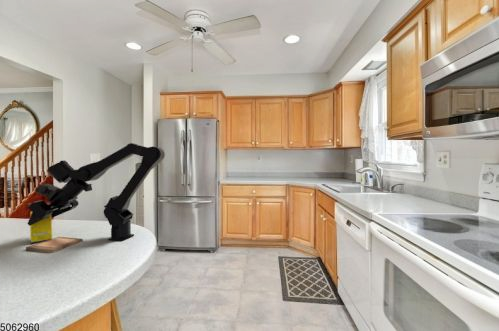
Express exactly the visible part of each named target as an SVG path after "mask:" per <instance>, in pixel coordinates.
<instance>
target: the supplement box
mask: <svg viewBox="0 0 499 331" xmlns="http://www.w3.org/2000/svg"><path fill="white" fill-rule="evenodd" d="M31 215H32V211H30V212H29V218H30V217H31ZM52 220H53V218H52V215H50V216H48V218H46V219H43V220H41V221H39V222H37V223H35V224H33V225H30V226H29V227H30V245H35V244H38V243H41V242H44V241H47V240H50V239H53V228H52V227H53V226H52V224H53V221H52Z"/></svg>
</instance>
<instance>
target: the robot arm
mask: <svg viewBox="0 0 499 331" xmlns="http://www.w3.org/2000/svg"><path fill="white" fill-rule="evenodd" d="M134 155H136V156H139V157H142V158H141V162H140V165H139V166H138V168H137V169H136V170H135V172H134V174H133V175H132V177H131V178H130V179H129V181H128V182H127V184H126V185H125V186H124V188H123V189H122V191H121V192H120V194H119V195H115V196H113V197H110V198H109V200H108V202H107V203H106V205H104V206H103V208H104V209H103V215H104V217H105V218H106V219H107V221H108V224H109V225H110V226H111V228H110V232H111V233H110V237H108V238H107V239H108V240H110V241H111V240H112V241H121V242H123V241H125V240H127V239H130V238H132V237H134V236H135V234H134V233H132V232H131V225H132V224H131V220H132V219H133V216H134V214H133V212H132V211H130V210H129V207H130V203H131V201H132V198H133V197H134V195H135V194H136V192H137V191H138V189H140V187H141V185H142V184H143V182H144V181H145V179H146V178H147V177H148V175H149V174H150V172H151V171H152V170H153V169H154V168H155V167H157V166H158V165H159V164H160V163H161V162H162V161H163V160H164V159H165V156H166V155H165V150H164V149H163V148H161V147H158V146H149V147H147V146H143V145H140V144H139V145H138V144H137V143H132V142H131V143H128V144H127V145H126V146H123V147H122V148H120V149H118V150H117V151H115V152H113V153H111V154H109V155H107V156H106V157H104V158H103V159H100V160H98V161H94V162H91V163H89V164H86V165H85V164H84V165H83V166H80V167H78V169H75V168H74V167H72V166H71V165H70V164H69V163H68V161H66V160H59V162H56V163H54V164H53V165H50V166H49V167H48V169H47V170H46V172H47V173H48V174H49V175H50V176H51V177H53V178H54V179H55V181H57V183H59V184H61V183H63V184H64V186H62V187H61V188H60V187H58V186H57V185H53V184H51V183H41V184H38V185H37V186H36V187H35V189H34V190H35V193H36V194H38V195H41V196H44V197H46V198H45V199H46V200H47V201H48V202H49V203H47V202H46V201H45V200H37V201H32V202H30V203H29V204H28V205H27V209H28V210H30V212H32V215H31V217H30V216H29V219H28V222H27V225H28V226H29V227H30V225H33V224H35V223H37V222H39V221H41V220H43V219H46V218H48V216H50V215H52V219H53V218H55V217H57V216H60V215H63V214H65V213H67V212H70V211H72V210H74V209H76V208H77V207H78V206H79V201H78V200H77V199H78V198H79V197H78V196H79V195H80V194H81V193H82V192H83V191H84V192H90V191H93V188H92V187H93V186H92V185H93V184H92V183H88V182H91V181H96V180H98V179H100V178H101V177H102V176H103V175H105V174H106V172H107V171H108V170H110V169H111V168H113V167H115V166H116V165H119V164H120V163H121V162H124V161H125V160H127V159H129V158H130V157H132V156H134Z"/></svg>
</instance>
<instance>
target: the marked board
mask: <svg viewBox="0 0 499 331" xmlns="http://www.w3.org/2000/svg"><path fill="white" fill-rule="evenodd" d="M83 242H84V238H78V237H66V236H57V237H54V238H53V237H52V239H50V240H47V241H44V242H41V243H37V244H30V245H29V246H26V247H25V251H29V252H31V251H32V252H38V253H39V252H40V253H49V254H53V253H56V252H59V251H61V250H64V249H67V248H69V247H72V246H75V245H77V244H80V243H83Z"/></svg>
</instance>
